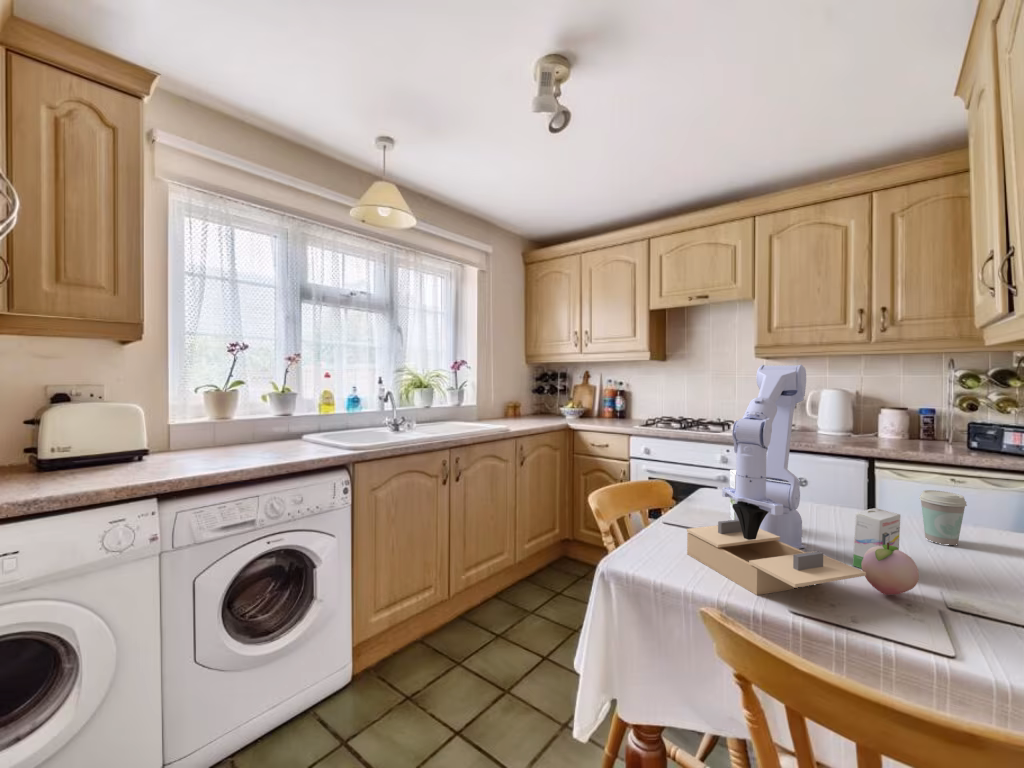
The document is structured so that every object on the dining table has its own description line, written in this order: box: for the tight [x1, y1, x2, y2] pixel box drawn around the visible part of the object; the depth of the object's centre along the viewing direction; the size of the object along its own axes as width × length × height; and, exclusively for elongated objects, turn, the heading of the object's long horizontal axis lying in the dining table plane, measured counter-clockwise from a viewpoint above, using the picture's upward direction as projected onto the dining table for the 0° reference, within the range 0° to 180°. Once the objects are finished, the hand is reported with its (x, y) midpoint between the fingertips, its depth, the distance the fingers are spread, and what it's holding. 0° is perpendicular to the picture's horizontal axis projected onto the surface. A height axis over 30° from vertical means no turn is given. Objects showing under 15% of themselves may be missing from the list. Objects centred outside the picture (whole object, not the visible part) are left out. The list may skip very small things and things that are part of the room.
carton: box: [686, 532, 822, 596], centre depth 97 cm, size 16×20×5 cm
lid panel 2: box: [749, 550, 866, 588], centre depth 84 cm, size 16×10×3 cm, turn 106°
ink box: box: [852, 507, 901, 569], centre depth 98 cm, size 9×5×12 cm, turn 117°
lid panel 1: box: [686, 519, 780, 548], centre depth 102 cm, size 16×10×3 cm, turn 106°
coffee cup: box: [919, 489, 968, 545], centre depth 112 cm, size 8×9×12 cm
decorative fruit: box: [861, 542, 920, 596], centre depth 85 cm, size 9×8×10 cm
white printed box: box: [729, 469, 738, 520], centre depth 126 cm, size 6×6×14 cm
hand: (749, 538), depth 97 cm, fingers closed
